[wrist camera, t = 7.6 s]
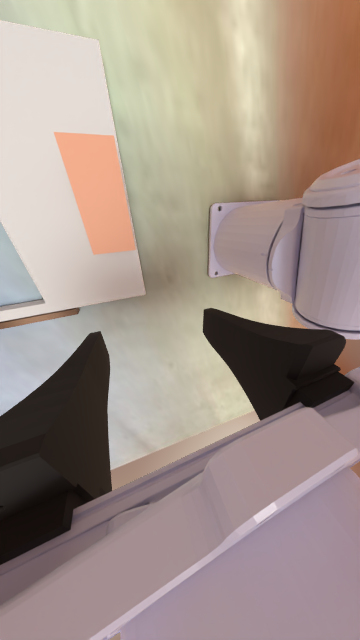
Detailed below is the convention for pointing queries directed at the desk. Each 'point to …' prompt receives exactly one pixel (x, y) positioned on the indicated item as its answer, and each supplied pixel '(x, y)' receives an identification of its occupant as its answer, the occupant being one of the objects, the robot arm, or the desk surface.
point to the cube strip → (62, 173)
